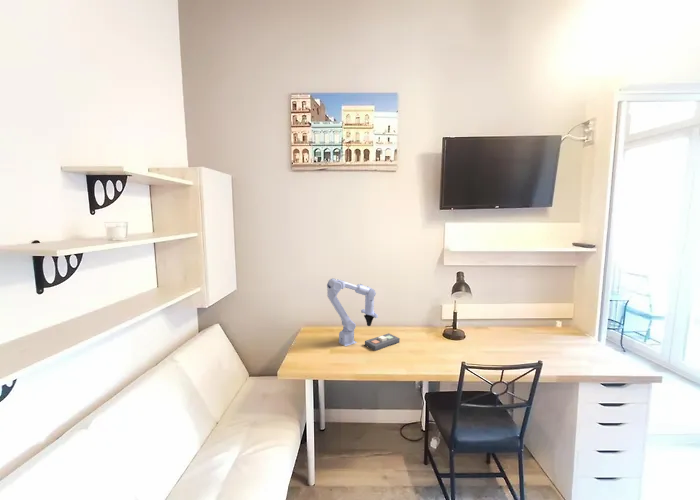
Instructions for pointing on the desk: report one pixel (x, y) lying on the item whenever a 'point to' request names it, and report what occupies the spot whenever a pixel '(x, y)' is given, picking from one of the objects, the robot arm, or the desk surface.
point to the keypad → (382, 344)
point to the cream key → (382, 338)
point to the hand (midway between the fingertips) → (369, 325)
